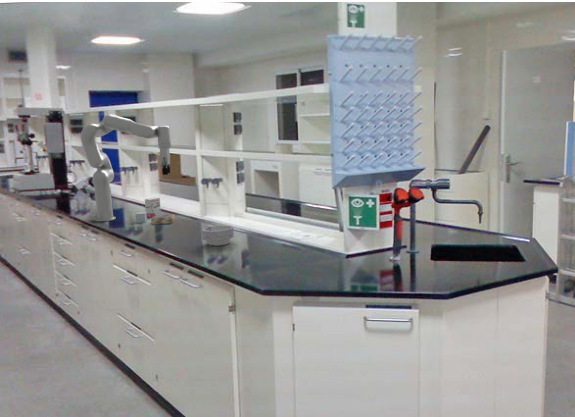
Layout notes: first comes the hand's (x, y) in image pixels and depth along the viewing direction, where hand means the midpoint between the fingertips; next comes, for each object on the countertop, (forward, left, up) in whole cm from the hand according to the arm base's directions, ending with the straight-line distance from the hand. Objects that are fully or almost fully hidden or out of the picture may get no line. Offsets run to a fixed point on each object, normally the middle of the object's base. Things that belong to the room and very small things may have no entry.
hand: (166, 173), depth 345 cm
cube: (-15, -9, -28) cm, 33 cm away
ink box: (-11, +8, -28) cm, 31 cm away
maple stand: (-1, -13, -28) cm, 31 cm away
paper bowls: (+37, -80, -28) cm, 92 cm away
